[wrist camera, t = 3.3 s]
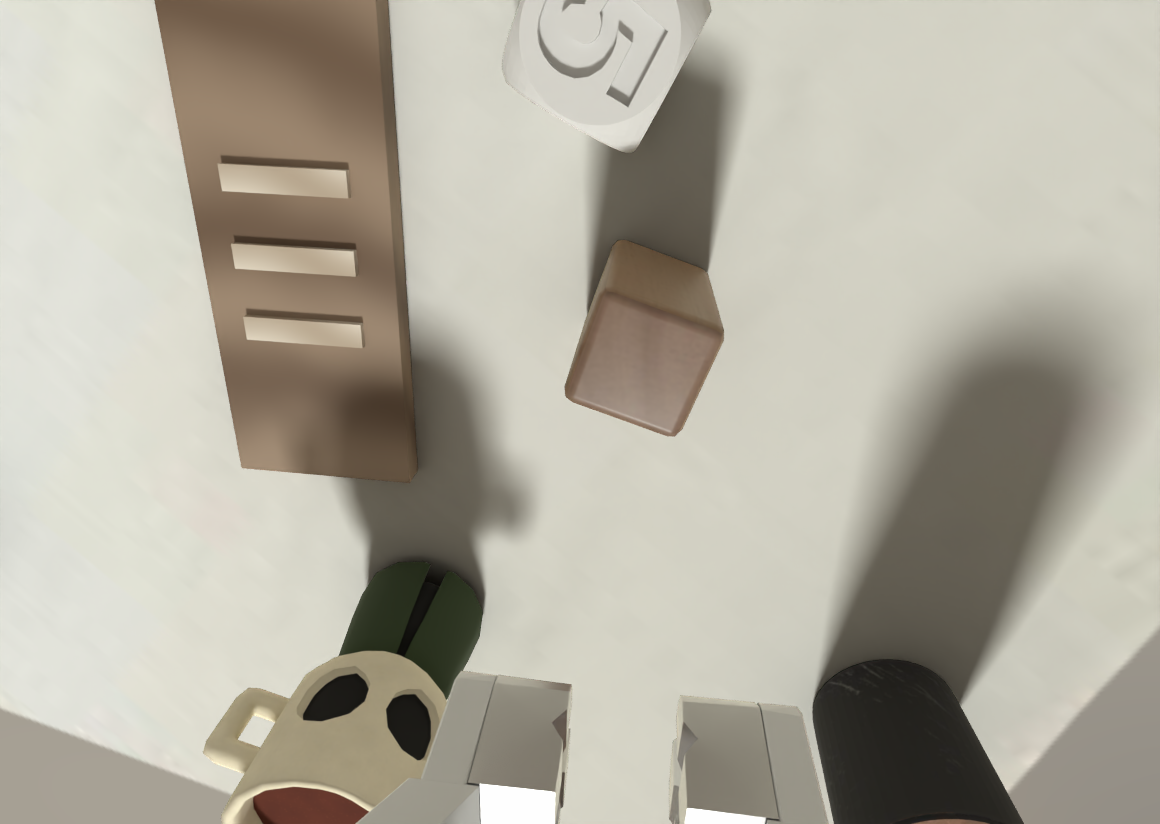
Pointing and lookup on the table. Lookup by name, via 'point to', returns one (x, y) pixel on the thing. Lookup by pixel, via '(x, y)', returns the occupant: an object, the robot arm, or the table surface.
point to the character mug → (354, 707)
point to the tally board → (299, 226)
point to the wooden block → (646, 340)
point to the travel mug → (903, 751)
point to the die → (601, 60)
